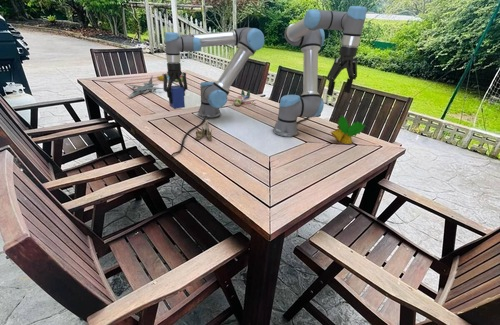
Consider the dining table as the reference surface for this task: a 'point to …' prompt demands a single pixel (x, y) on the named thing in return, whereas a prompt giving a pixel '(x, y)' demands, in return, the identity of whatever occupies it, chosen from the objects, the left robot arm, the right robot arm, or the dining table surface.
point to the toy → (241, 99)
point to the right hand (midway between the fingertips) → (338, 93)
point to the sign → (168, 78)
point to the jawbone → (204, 132)
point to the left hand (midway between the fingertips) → (176, 102)
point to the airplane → (143, 88)
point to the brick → (177, 97)
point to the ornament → (347, 130)
